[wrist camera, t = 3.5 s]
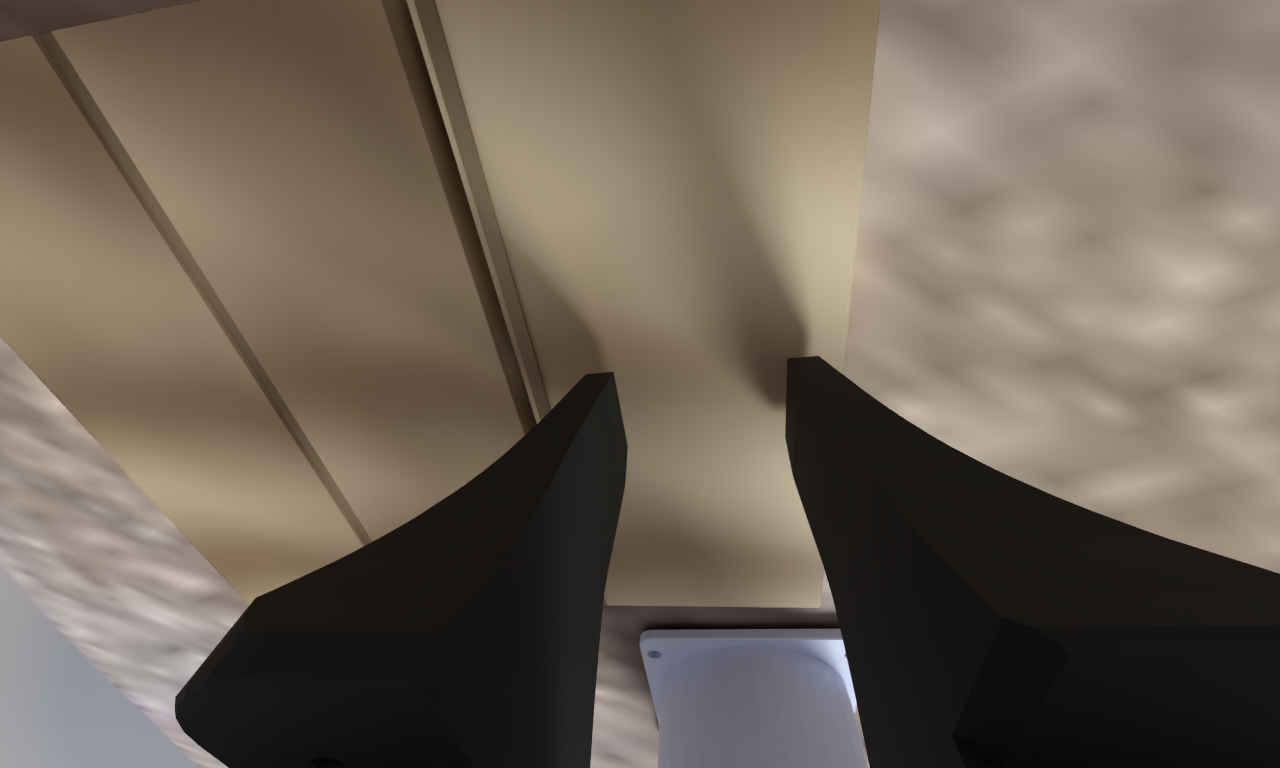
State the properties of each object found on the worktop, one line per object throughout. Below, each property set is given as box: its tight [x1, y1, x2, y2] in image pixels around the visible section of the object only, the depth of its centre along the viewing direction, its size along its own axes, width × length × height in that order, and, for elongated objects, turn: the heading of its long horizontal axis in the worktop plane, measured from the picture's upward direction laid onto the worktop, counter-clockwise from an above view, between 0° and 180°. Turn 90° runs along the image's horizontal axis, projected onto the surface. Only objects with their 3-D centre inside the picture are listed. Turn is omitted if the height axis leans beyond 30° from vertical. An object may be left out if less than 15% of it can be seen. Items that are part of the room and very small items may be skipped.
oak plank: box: [406, 0, 881, 608], centre depth 11 cm, size 16×7×1 cm, turn 8°
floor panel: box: [0, 0, 537, 606], centre depth 13 cm, size 16×12×1 cm
